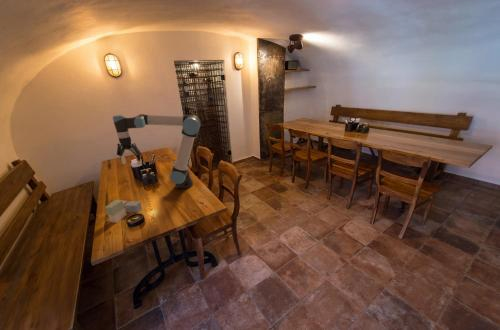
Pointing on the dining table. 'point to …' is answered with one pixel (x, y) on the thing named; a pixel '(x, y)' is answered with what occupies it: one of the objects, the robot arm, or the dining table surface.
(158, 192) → the dining table surface
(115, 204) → the green brick
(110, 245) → the dining table surface
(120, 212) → the cream brick
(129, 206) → the slate brick
